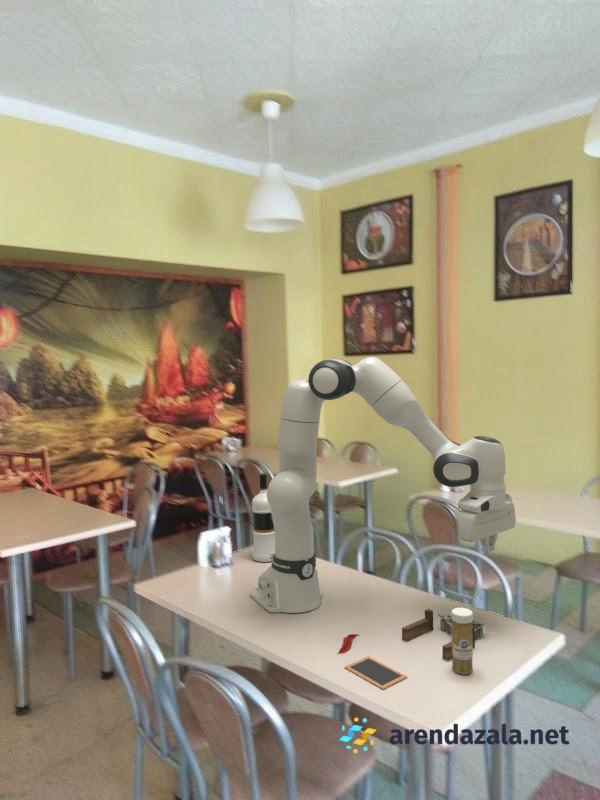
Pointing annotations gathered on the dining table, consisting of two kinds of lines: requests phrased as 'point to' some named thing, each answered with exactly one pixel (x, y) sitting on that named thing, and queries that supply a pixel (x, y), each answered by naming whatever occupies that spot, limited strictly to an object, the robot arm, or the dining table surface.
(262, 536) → the vodka
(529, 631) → the dining table surface
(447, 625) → the egg carton
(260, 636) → the dining table surface
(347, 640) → the cayenne pepper
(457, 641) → the sprinkles bottle
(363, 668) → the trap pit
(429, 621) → the walled channel
